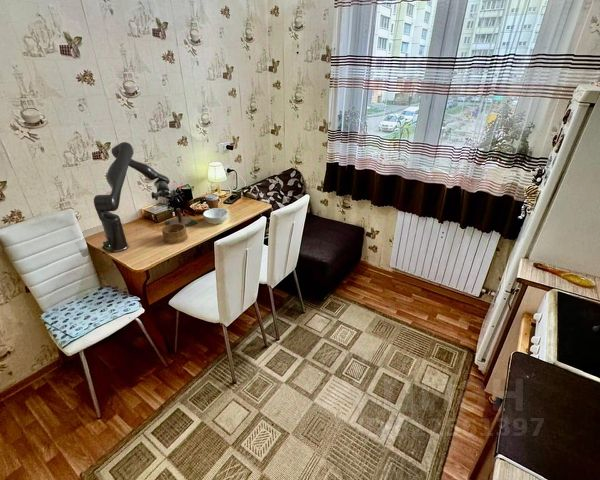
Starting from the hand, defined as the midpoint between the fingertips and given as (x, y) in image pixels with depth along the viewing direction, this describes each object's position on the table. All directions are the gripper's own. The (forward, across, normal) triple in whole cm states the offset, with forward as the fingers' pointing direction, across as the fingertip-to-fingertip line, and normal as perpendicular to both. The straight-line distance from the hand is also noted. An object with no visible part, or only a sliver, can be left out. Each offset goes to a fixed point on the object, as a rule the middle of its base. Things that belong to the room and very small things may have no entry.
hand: (164, 198), depth 188 cm
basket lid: (-13, +7, +23) cm, 27 cm away
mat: (-13, +7, +24) cm, 28 cm away
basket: (+10, +2, +24) cm, 26 cm away
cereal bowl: (-6, +30, +24) cm, 39 cm away
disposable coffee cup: (-26, +32, +24) cm, 48 cm away
